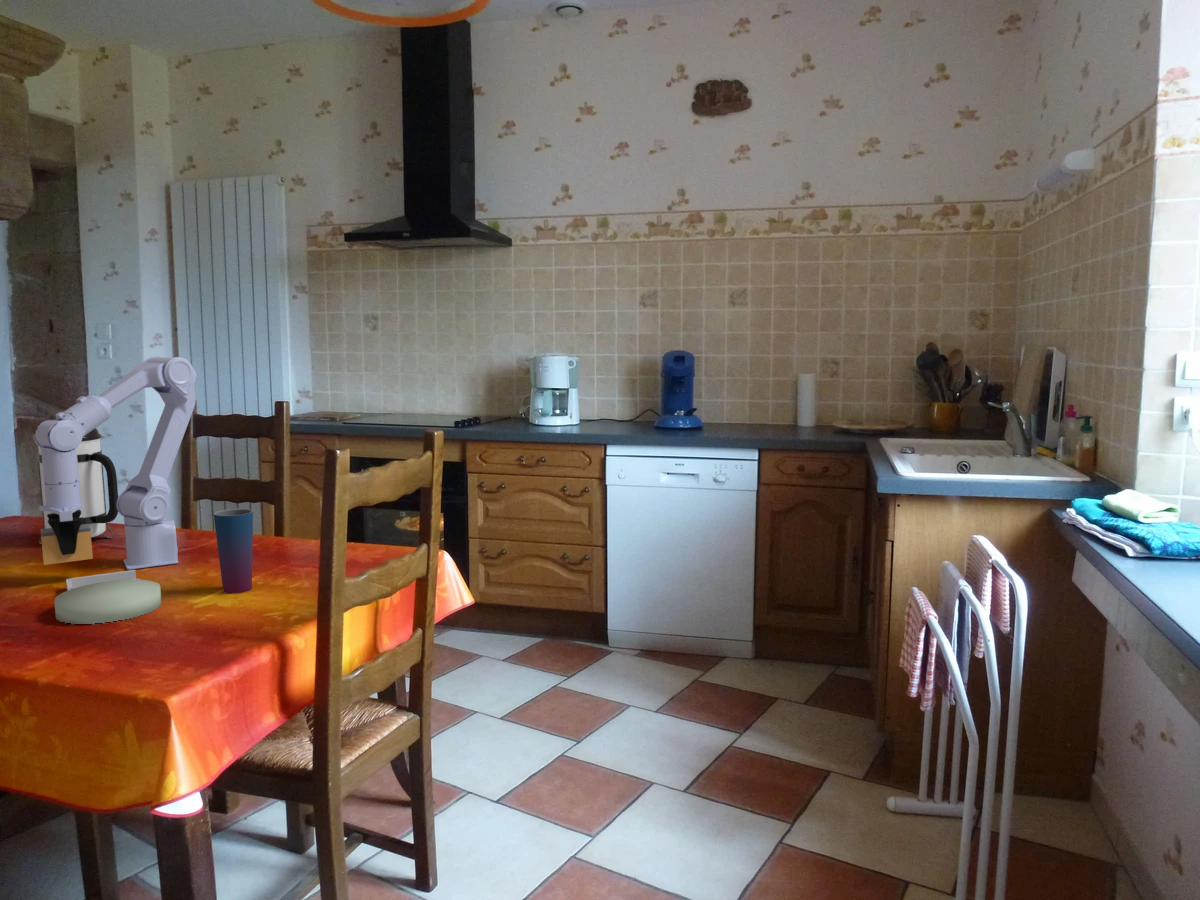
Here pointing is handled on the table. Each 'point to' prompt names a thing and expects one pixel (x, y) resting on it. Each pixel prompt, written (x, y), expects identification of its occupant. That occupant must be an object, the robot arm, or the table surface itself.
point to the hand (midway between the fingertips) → (68, 551)
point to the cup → (235, 548)
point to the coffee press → (90, 485)
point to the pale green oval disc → (106, 598)
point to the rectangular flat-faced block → (53, 550)
